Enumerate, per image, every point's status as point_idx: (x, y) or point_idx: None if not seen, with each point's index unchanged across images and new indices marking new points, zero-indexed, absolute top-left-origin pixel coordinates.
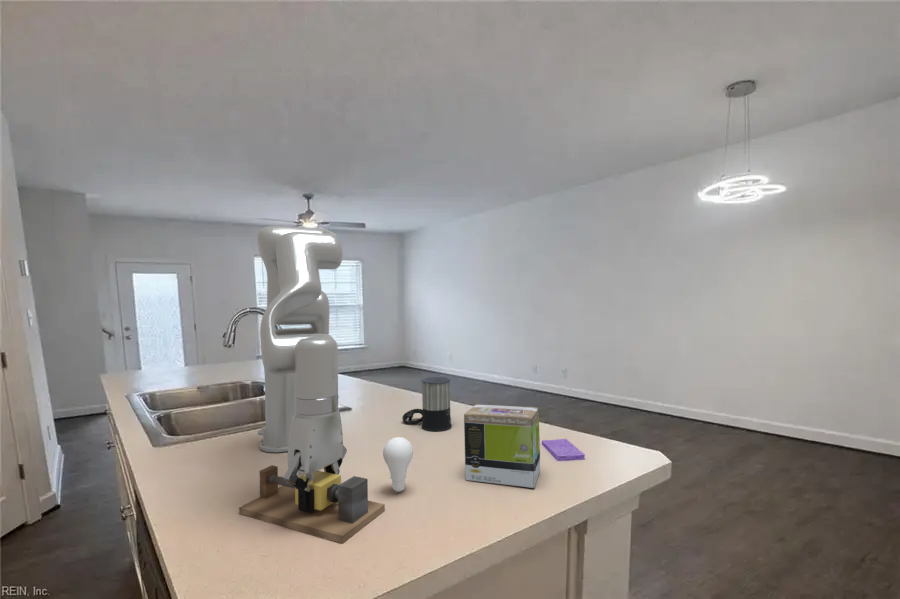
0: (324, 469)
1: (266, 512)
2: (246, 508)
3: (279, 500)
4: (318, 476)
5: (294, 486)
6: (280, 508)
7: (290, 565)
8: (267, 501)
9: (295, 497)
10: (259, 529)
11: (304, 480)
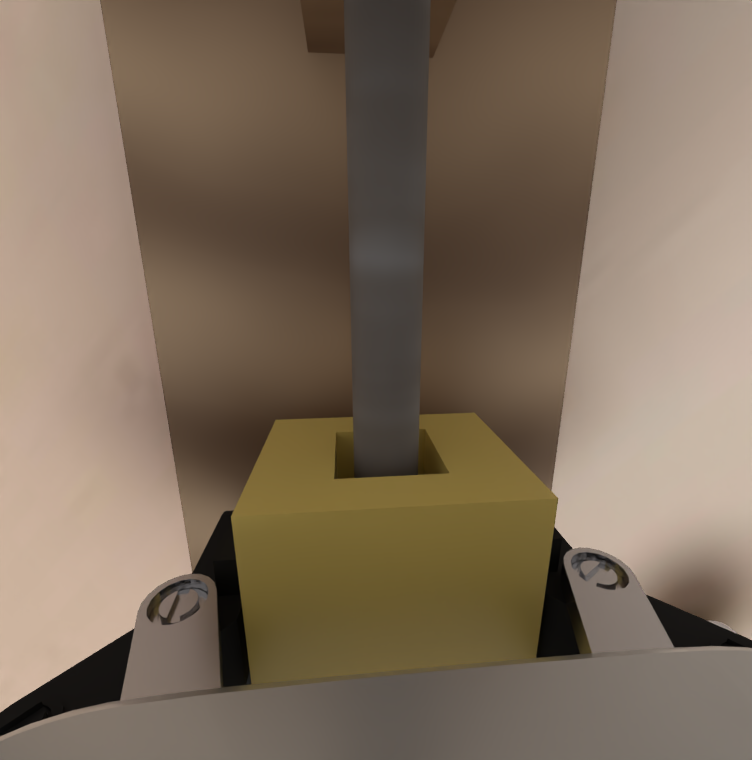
0: (571, 600)
1: (166, 252)
2: (118, 34)
3: (337, 188)
4: (429, 628)
5: (92, 655)
6: (256, 295)
7: (4, 660)
8: (285, 106)
9: (266, 442)
10: (88, 314)
11: (291, 588)
